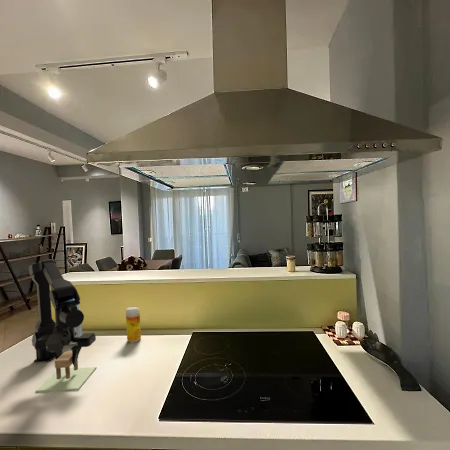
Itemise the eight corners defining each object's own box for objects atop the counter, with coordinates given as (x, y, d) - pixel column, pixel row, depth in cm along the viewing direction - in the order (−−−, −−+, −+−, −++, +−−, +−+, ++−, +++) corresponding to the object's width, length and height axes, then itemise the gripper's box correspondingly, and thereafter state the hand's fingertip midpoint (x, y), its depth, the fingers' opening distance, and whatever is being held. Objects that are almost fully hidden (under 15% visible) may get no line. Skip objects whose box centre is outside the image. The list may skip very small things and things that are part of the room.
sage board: (35, 392, 98) (35, 390, 98) (58, 370, 112) (58, 368, 112) (78, 390, 98) (78, 388, 98) (96, 368, 112) (96, 366, 112)
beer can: (137, 343, 133) (135, 310, 133) (124, 342, 134) (123, 309, 134) (143, 337, 139) (141, 306, 139) (131, 337, 140) (129, 305, 140)
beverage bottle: (77, 345, 134) (74, 301, 134) (58, 345, 134) (56, 302, 134) (86, 337, 143) (84, 296, 142) (68, 338, 143) (66, 296, 142)
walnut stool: (66, 369, 108) (65, 351, 108) (78, 368, 108) (77, 350, 108) (55, 379, 101) (54, 360, 101) (69, 379, 101) (68, 360, 101)
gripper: (22, 331, 96) (25, 378, 96) (80, 328, 96) (83, 375, 97) (43, 319, 107) (45, 361, 107) (95, 316, 107) (97, 359, 108)
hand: (67, 364), depth 105 cm, fingers closed on walnut stool, 4 cm apart
